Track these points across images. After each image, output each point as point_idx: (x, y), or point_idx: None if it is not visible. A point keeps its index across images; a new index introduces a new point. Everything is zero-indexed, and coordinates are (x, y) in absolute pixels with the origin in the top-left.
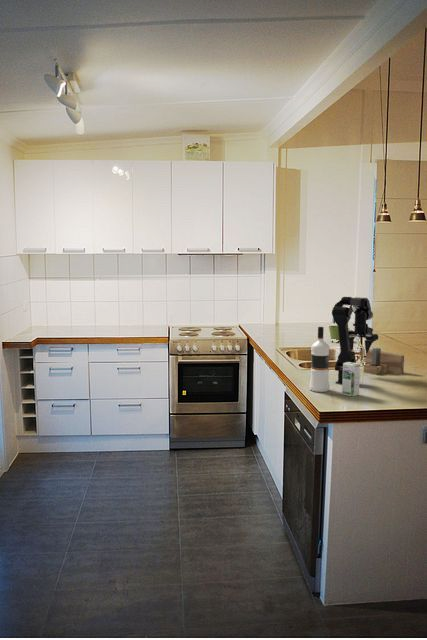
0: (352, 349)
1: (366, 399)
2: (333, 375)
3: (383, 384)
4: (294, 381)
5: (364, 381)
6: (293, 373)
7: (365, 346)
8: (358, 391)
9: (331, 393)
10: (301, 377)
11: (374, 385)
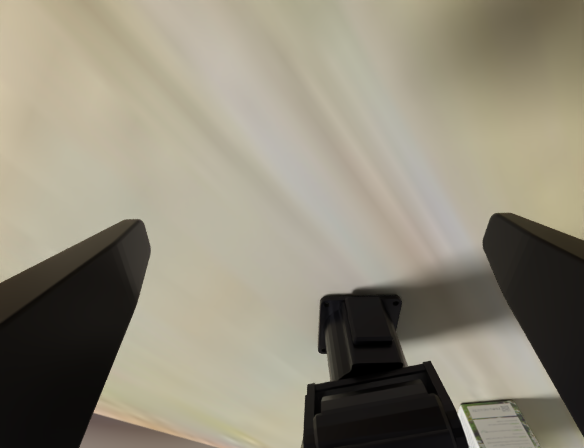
0: (141, 246)
1: (563, 418)
2: (163, 233)
3: (576, 178)
4: (178, 429)
5: (425, 208)
6: None
7: (573, 401)
8: (520, 416)
9: None
10: (121, 379)
11: None
